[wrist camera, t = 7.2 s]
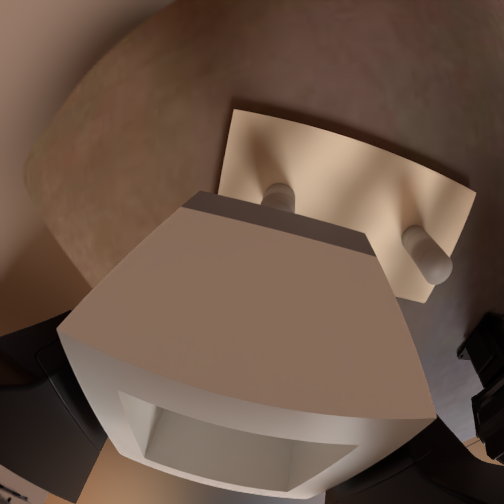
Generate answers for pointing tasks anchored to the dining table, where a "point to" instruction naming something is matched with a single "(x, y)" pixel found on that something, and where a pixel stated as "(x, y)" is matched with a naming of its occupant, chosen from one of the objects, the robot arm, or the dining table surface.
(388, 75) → the dining table surface
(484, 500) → the robot arm
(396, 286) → the pin board
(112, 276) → the sleeve
